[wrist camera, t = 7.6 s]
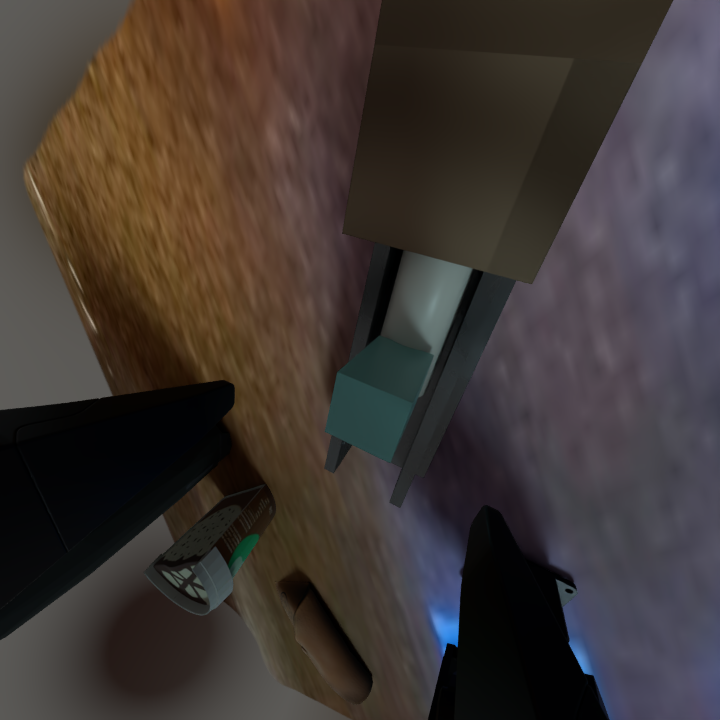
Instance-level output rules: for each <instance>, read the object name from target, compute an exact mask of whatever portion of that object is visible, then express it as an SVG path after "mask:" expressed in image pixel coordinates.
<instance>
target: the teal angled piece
mask: <svg viewBox="0 0 720 720" xmlns="http://www.w3.org/2000/svg"><path fill="white" fill-rule="evenodd" d="M474 270H475V269H473V268H469V267H465V266H462V265H458V264H454V263H450V262H447V261H443V260H439V259H436V258H432V257H428V256H424V255H421V254H417V253H413V252H409V251H406V250H403V254H402V257H401V261H400V265H399V268H398V272H397V276H396V279H395V283H394V287H393V291H392V294H391V298H390V302H389V305H388V309H387V313H386V316H385V320H384V324H383V327H382V331H381V335H380V336H378V337H377V338H376V339H375V340H374V341H373V342H371V343H370V344H369V345H368V346H367V347H366V348H365V349H363V350H362V351H361V352H360V353H359V354H358V355H356V356H355V357H354V358H353V359H352V360H351V361H349V362H348V363H347V364H346V365H345V366H344V367H343V368H341V369H340V370H339V371H338V372H337V376H336V381H335V386H334V390H333V395H332V400H331V405H330V410H329V414H328V419H327V424H326V429H325V432H327V433H329V434H331V435H333V436H335V437H337V438H339V439H341V440H343V441H345V442H347V443H349V444H351V445H354V446H356V447H358V448H360V449H362V450H364V451H366V452H368V453H370V454H372V455H374V456H376V457H378V458H380V459H382V460H385V461H387V462H389V463H391V461H392V458H393V456H394V453H395V451H396V449H397V446H398V444H399V442H400V439H401V437H402V435H403V432H404V430H405V428H406V425H407V423H408V421H409V418H410V416H411V414H412V411H413V409H414V407H415V404H416V402H417V399H418V397H421V396H423V395H424V394H425V393H426V392H427V389H428V387H429V384H430V381H431V379H432V376H433V374H434V371H435V369H436V366H437V364H438V361H439V359H440V356H441V354H442V351H443V349H444V346H445V343H446V341H447V338H448V336H449V333H450V331H451V328H452V326H453V323H454V321H455V318H456V316H457V313H458V310H459V308H460V305H461V303H462V300H463V298H464V295H465V293H466V290H467V288H468V285H469V283H470V280H471V277H472V275H473V272H474Z"/></svg>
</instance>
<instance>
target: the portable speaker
mask: <svg viewBox="0 0 720 720" xmlns="http://www.w3.org/2000/svg"><path fill="white" fill-rule="evenodd" d="M231 445H232V443H231V439H230V434H229V433H222V432H221V431H220V430H219V429H218V427H217V426H216V425H215V426H214V427H213V428H212V429H211V430H210V431H209V432H208V433H207V434H206V435H205V436H204V437H203V438H202V439H201V440H200V441H198V442H197V443H196V444H195V445H194V446H193V447H191V448H190V449H189V450H188V451H187V452H186V453H184V454H183V455H182V456H181V457H180V458H178V459H177V460H176V461H175V462H174V463H173V464H171V465H170V466H169V467H168V468H167V469H165V470H164V471H163V472H162V473H161V474H160V475H158V476H157V477H156V478H155V479H154V480H152V481H151V482H150V483H149V484H148V485H147V486H145V487H144V488H143V489H142V490H141V491H139V492H138V493H137V494H136V495H135V496H134V497H132V498H131V499H130V500H129V501H128V502H127V503H125V504H124V505H123V506H122V507H121V508H119V509H118V510H117V511H116V512H115V513H114V514H112V515H111V516H110V517H109V518H108V519H106V520H105V521H104V522H103V523H102V524H101V525H99V526H98V527H97V528H96V529H95V530H93V531H92V532H91V533H90V534H89V535H88V536H86V537H85V538H84V539H83V540H82V541H80V542H79V543H78V544H77V545H76V546H75V547H73V548H72V549H71V550H70V551H67V554H65V555H64V556H63V557H62V558H61V559H59V560H58V561H57V562H56V563H55V564H54V565H52V566H51V567H50V568H49V569H48V570H46V571H45V572H44V573H43V574H42V575H41V576H39V577H38V578H37V579H36V580H35V581H34V582H32V583H31V584H30V585H29V586H28V587H26V588H25V589H24V590H23V591H22V592H21V593H19V594H18V595H17V596H16V597H15V598H13V599H12V600H11V601H10V602H9V603H8V604H6V605H5V606H4V607H3V608H2V609H0V640H1V639H3V638H5V637H6V636H8V635H9V634H11V633H12V632H13V631H15V630H16V629H17V628H19V627H20V626H21V625H23V624H24V623H25V622H27V621H28V620H29V619H31V618H32V617H33V616H35V615H36V614H37V613H39V612H40V611H42V610H43V609H44V608H45V607H47V606H48V605H50V604H51V603H52V602H54V601H55V600H56V599H58V598H59V597H60V596H62V595H63V594H64V593H66V592H67V591H68V590H70V589H71V588H72V587H74V586H75V585H77V584H78V583H79V582H81V581H82V580H83V579H84V578H86V577H87V576H88V575H90V574H91V573H92V572H94V571H95V570H96V569H97V568H98V567H100V566H101V565H102V564H103V563H104V562H105V561H107V560H108V559H109V558H110V557H112V556H113V555H114V554H115V553H116V552H118V551H119V550H120V549H121V548H122V547H123V546H125V545H126V544H127V543H128V542H129V541H131V540H132V539H133V538H134V537H135V536H136V535H138V534H139V533H140V532H141V531H143V530H144V529H145V528H146V527H147V526H149V524H151V523H152V522H153V521H154V520H156V519H157V518H158V517H159V516H160V515H162V514H163V513H164V512H165V511H166V510H168V509H169V508H170V507H171V506H172V505H174V504H175V503H176V502H177V501H178V500H180V499H181V498H182V497H183V496H184V495H185V494H186V493H187V492H188V491H189V490H191V489H192V488H193V487H194V486H195V485H196V484H197V483H198V482H199V481H200V480H201V479H203V478H204V477H205V476H206V475H207V474H208V473H209V472H210V471H211V470H212V469H213V468H215V467H216V466H217V464H218V462H220V461H221V460H222V459H223V458H224V457H225V456H227V455H228V454H229V453H230V449H231Z"/></svg>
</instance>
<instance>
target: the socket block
mask: <svg viewBox="0 0 720 720" xmlns="http://www.w3.org/2000/svg"><path fill="white" fill-rule="evenodd" d="M672 2H673V0H382V4H381V10H380V16H379V21H378V27H377V33H376V39H375V45H374V51H373V56H372V62H371V68H370V74H369V80H368V86H367V91H366V97H365V103H364V109H363V115H362V121H361V126H360V132H359V138H358V144H357V150H356V156H355V161H354V167H353V173H352V179H351V185H350V191H349V196H348V202H347V208H346V214H345V220H344V226H343V232H342V234H346V235H350V236H354V237H357V238H361V239H365V240H369V241H372V242H376V243H380V244H383V245H387V246H391V247H395V248H398V249H402V250H406V251H409V252H413V253H417V254H421V255H424V256H428V257H432V258H436V259H439V260H443V261H447V262H450V263H454V264H458V265H462V266H465V267H469V268H473V269H477V270H480V271H484V272H488V273H491V274H495V275H499V276H503V277H506V278H510V279H514V280H518V281H521V282H525V283H529V284H532V283H533V281H534V279H535V277H536V275H537V273H538V271H539V269H540V267H541V265H542V263H543V261H544V259H545V257H546V255H547V253H548V251H549V249H550V247H551V245H552V243H553V241H554V239H555V237H556V235H557V233H558V231H559V229H560V227H561V225H562V223H563V221H564V219H565V217H566V215H567V213H568V211H569V209H570V207H571V205H572V203H573V201H574V199H575V197H576V195H577V193H578V191H579V189H580V187H581V185H582V183H583V181H584V179H585V177H586V175H587V173H588V171H589V169H590V167H591V165H592V162H593V160H594V158H595V156H596V154H597V152H598V150H599V148H600V146H601V144H602V142H603V140H604V138H605V136H606V134H607V132H608V130H609V128H610V126H611V124H612V122H613V120H614V118H615V116H616V114H617V112H618V110H619V108H620V106H621V104H622V102H623V100H624V98H625V96H626V94H627V92H628V90H629V88H630V86H631V84H632V82H633V80H634V78H635V76H636V74H637V72H638V70H639V68H640V66H641V64H642V62H643V60H644V58H645V56H646V54H647V52H648V50H649V48H650V46H651V44H652V42H653V40H654V38H655V36H656V34H657V32H658V30H659V28H660V26H661V24H662V22H663V20H664V18H665V16H666V14H667V12H668V10H669V8H670V6H671V4H672Z"/></svg>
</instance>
